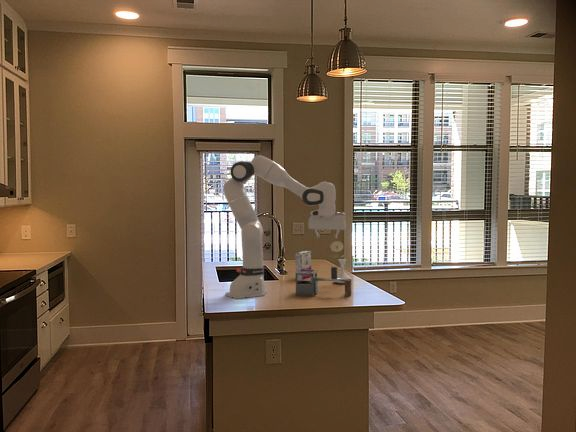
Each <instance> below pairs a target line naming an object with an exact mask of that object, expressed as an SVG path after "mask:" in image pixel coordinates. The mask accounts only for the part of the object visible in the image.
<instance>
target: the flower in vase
mask: <svg viewBox="0 0 576 432" xmlns="http://www.w3.org/2000/svg"><path fill="white" fill-rule="evenodd" d="M329 248H330V249H331V251H332V252H334V254H332V255H331V258H335V259H336V258H338V257H339V258H340V259H337V261H338V262H339V268H340V270H339V273H338V278H348V279H351V282H352V281H353V279H352V277H351V276H350V275H348V274H347V272H345V265H346V262H347V258H346V259H345V257H346V255H347V253H344V254H343V255H341V256H340V255H339V252H340V251H342V250H344V244H343V242H341V241H338V240H335V241H333V242H332V243H331V244H330V245H329ZM336 253H337V254H336ZM333 282H335V283H337V284H345V281H333Z"/></svg>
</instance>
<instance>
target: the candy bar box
mask: <svg viewBox="0 0 576 432" xmlns="http://www.w3.org/2000/svg"><path fill="white" fill-rule="evenodd" d="M294 254H295V255H294V256H295V258H294V259H295V273H296V272H298V271H299V270H312V251H311V250H303V251H299V252H295V253H294ZM302 273H313V272H311V271H302ZM307 278H311V275H302V280H305V279H307Z"/></svg>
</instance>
